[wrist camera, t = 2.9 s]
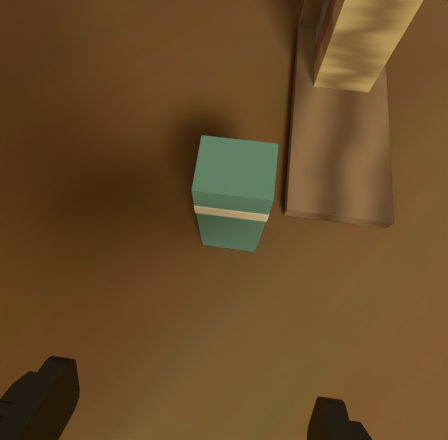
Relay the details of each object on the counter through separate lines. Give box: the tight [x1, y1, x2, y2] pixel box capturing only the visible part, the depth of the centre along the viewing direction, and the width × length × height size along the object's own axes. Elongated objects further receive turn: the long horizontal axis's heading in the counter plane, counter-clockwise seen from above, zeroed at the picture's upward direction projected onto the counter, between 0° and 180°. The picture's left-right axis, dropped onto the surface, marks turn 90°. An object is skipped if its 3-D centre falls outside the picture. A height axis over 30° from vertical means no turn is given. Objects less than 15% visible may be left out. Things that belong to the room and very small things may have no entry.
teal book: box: [191, 135, 278, 251], centre depth 26 cm, size 5×4×12 cm
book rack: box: [284, 0, 423, 228], centre depth 28 cm, size 10×26×18 cm, turn 173°
